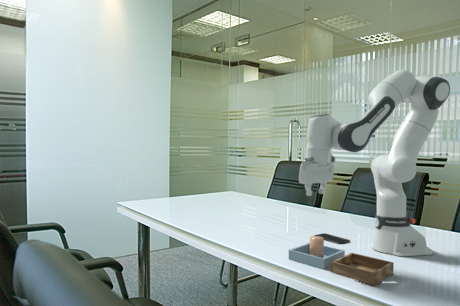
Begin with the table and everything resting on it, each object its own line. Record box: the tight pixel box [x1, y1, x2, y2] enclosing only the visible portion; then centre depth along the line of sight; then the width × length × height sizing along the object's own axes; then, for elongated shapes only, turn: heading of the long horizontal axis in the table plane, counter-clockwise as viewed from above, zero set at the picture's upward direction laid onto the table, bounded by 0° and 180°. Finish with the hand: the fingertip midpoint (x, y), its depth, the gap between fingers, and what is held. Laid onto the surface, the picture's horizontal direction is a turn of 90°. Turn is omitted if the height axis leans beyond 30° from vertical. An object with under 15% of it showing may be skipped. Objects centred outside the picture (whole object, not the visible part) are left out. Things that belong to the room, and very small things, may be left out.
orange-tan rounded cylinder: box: [309, 235, 325, 258], centre depth 129 cm, size 5×5×8 cm
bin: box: [288, 242, 346, 270], centre depth 129 cm, size 15×15×4 cm
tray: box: [330, 252, 395, 287], centre depth 116 cm, size 15×15×4 cm
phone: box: [313, 233, 351, 245], centre depth 159 cm, size 8×1×15 cm
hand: (315, 194), depth 130 cm, fingers open, 8 cm apart
